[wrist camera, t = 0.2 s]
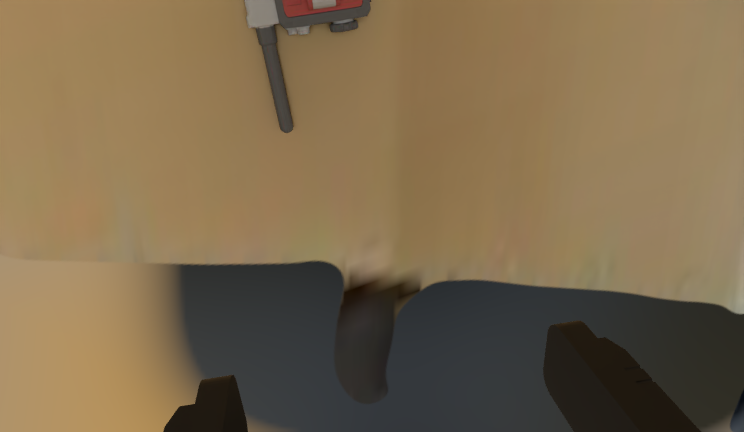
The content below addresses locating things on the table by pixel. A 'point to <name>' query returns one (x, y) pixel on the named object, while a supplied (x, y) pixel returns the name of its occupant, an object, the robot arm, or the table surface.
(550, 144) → the table surface
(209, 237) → the table surface
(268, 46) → the grey and red block
